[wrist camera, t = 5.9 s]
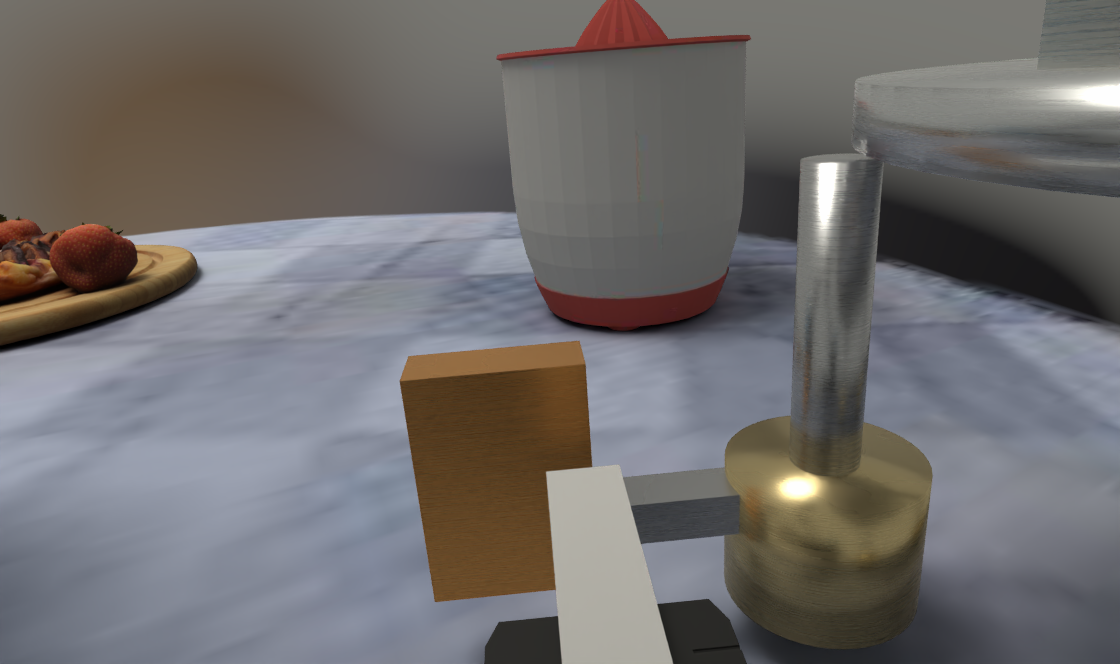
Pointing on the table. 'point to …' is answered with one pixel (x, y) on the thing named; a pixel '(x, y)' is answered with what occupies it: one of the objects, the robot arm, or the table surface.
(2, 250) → the wooden plate with food
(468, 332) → the table surface
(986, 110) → the tribrach stand
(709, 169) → the citrus juicer
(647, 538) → the lever
